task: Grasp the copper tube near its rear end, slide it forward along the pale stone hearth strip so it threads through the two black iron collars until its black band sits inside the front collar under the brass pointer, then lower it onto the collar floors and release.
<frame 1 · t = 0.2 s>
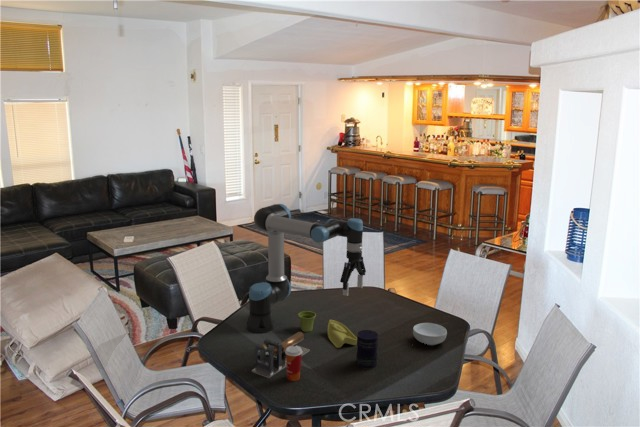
hand: (352, 291, 275), 28 cm above the table, fingers open, 13 cm apart
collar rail: (277, 363, 258), on the table
cereal bowl: (429, 342, 283), on the table
plant pot: (306, 330, 295), on the table
paper cup: (293, 378, 246), on the table
copper tube: (288, 347, 264), point 5 cm above the table, touching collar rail
storage jar: (366, 364, 260), on the table
plastic component: (341, 340, 284), on the table
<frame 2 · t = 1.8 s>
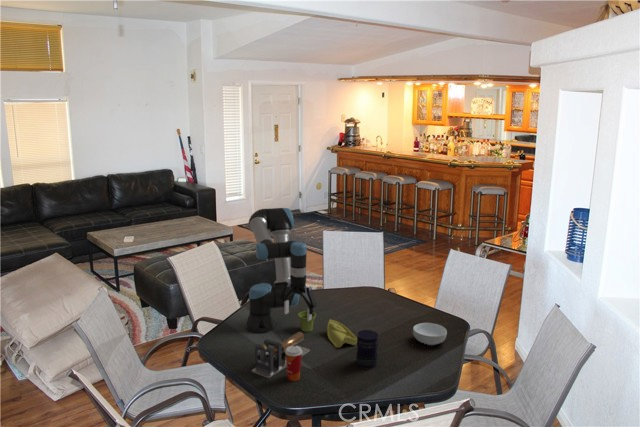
hand: (297, 316, 267), 18 cm above the table, fingers open, 13 cm apart
nothing on the table moved.
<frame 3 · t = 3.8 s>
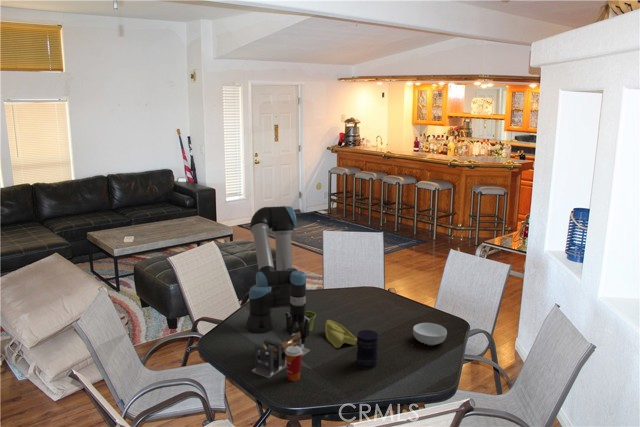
hand: (297, 347, 271), 2 cm above the table, fingers closed on copper tube, 4 cm apart
copper tube: (288, 347, 264), point 5 cm above the table, touching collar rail, gripper
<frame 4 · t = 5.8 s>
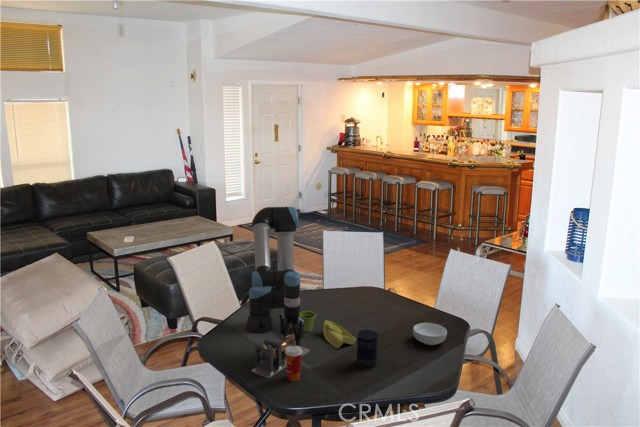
hand: (291, 349, 266), 3 cm above the table, fingers closed on copper tube, 4 cm apart
copper tube: (282, 349, 259), point 6 cm above the table, touching gripper
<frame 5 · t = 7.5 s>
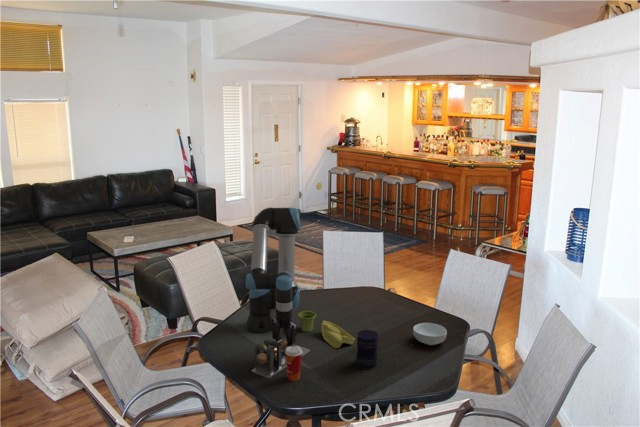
hand: (283, 354, 261), 2 cm above the table, fingers closed on copper tube, 4 cm apart
copper tube: (274, 355, 255), point 6 cm above the table, touching gripper
when the fingers open (2 cm above the table, at t = 8.1 s): copper tube stays where it is, resting on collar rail.
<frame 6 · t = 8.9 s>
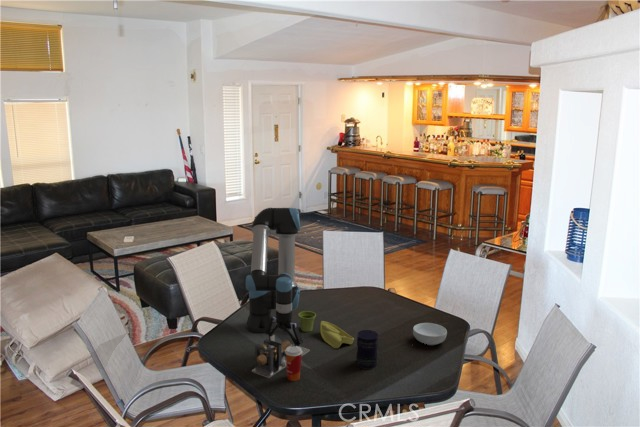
hand: (283, 352, 261), 4 cm above the table, fingers open, 13 cm apart
copper tube: (274, 356, 255), point 5 cm above the table, touching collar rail
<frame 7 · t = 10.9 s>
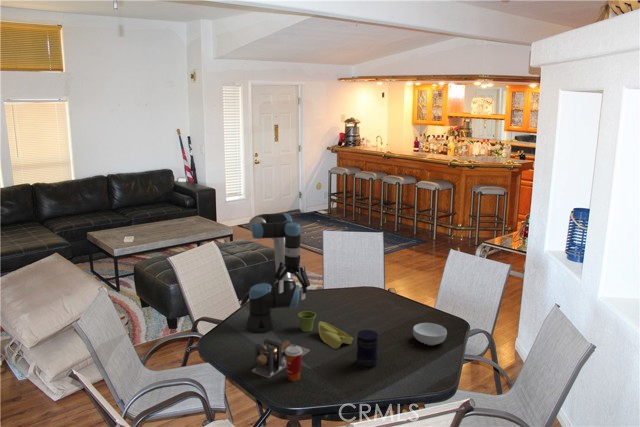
hand: (291, 295, 272), 26 cm above the table, fingers open, 13 cm apart
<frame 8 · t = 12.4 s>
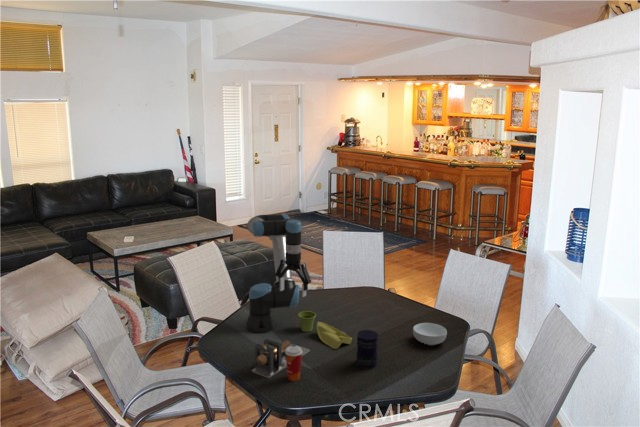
hand: (292, 293, 273), 27 cm above the table, fingers open, 13 cm apart
at the end: copper tube 0.4 cm from the target spot on the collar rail, point 4.7 cm above the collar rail's base; the gripper is holding nothing; copper tube tilted 0° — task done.
